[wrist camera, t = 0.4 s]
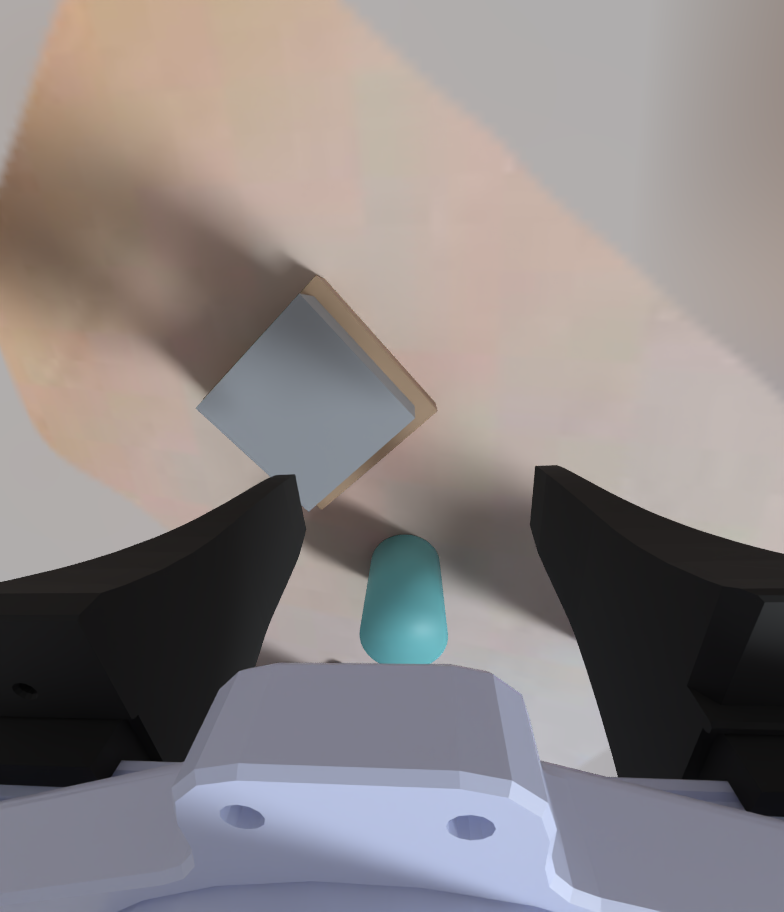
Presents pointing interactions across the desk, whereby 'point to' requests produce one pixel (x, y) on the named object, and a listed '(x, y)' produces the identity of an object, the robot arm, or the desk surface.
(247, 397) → the grey slab
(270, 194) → the desk surface
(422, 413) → the walnut slab
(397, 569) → the teal capsule
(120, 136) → the desk surface
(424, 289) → the desk surface
